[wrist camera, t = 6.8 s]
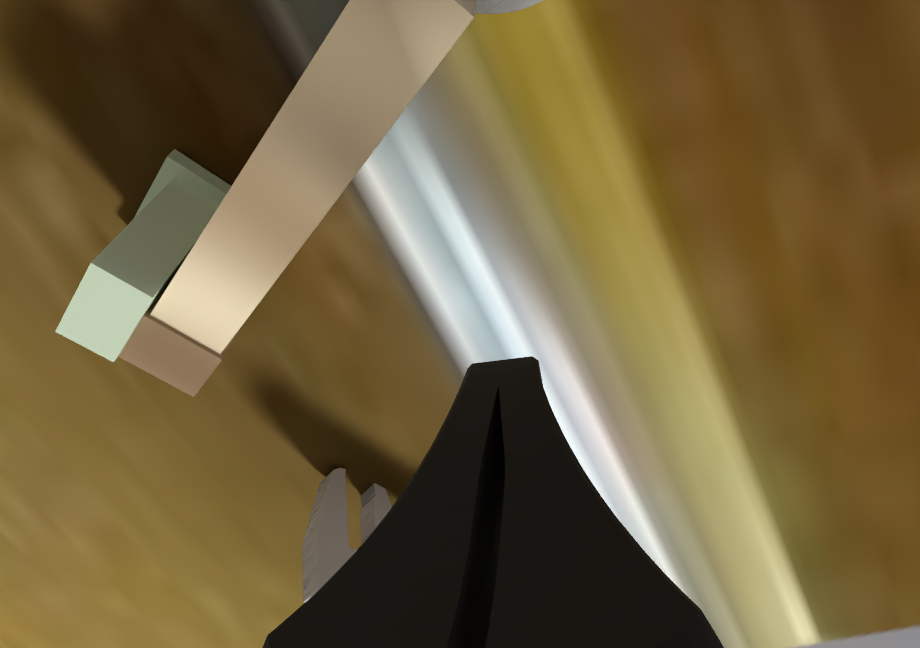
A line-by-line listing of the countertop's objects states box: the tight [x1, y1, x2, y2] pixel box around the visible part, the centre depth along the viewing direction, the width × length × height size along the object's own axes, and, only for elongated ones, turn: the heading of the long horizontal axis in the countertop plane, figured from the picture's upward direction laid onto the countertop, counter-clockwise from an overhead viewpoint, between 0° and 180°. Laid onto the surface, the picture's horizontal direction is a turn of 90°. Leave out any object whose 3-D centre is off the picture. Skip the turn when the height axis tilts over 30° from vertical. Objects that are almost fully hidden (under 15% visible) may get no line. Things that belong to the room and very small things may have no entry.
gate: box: [118, 0, 477, 397], centre depth 15 cm, size 11×2×4 cm, turn 142°
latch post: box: [55, 149, 231, 362], centre depth 17 cm, size 3×2×5 cm
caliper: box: [303, 468, 392, 602], centre depth 26 cm, size 20×1×6 cm, turn 53°
